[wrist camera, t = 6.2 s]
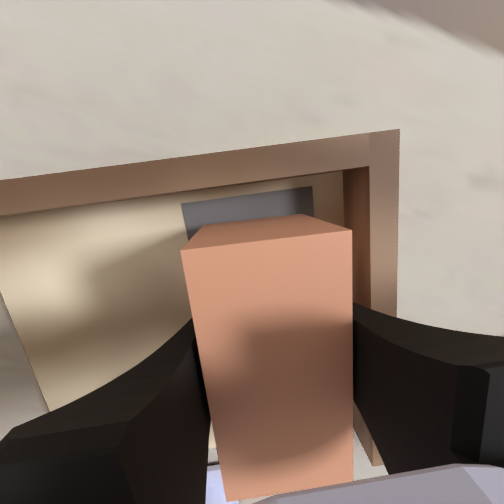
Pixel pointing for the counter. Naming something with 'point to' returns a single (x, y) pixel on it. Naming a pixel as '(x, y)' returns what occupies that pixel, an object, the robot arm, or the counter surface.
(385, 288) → the tray
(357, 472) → the counter surface
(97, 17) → the counter surface
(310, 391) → the terracotta bar
